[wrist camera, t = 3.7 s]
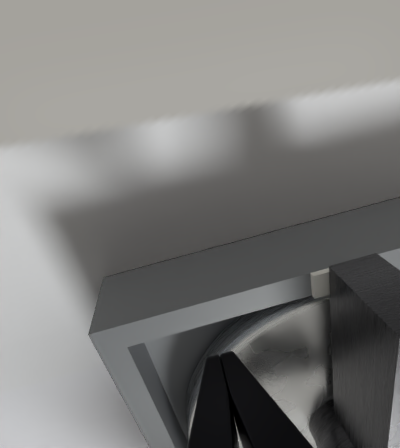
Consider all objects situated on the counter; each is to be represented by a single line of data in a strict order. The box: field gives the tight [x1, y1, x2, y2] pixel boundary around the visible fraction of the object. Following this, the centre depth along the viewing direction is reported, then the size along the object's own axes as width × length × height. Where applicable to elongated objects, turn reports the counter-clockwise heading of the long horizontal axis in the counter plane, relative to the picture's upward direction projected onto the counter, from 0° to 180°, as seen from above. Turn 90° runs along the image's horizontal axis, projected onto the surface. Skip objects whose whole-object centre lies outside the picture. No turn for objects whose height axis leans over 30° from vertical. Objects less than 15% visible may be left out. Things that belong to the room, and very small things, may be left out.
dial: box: [186, 253, 400, 448], centre depth 13 cm, size 17×15×5 cm
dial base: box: [88, 197, 400, 448], centre depth 15 cm, size 18×18×4 cm
